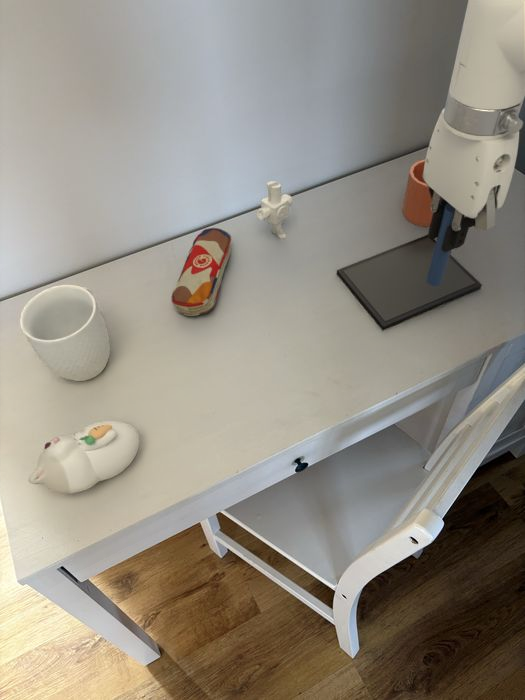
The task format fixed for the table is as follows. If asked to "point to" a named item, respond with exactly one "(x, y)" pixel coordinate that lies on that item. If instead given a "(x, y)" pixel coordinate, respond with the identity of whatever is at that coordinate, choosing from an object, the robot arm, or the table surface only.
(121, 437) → the cat figurine
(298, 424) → the table surface
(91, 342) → the mug
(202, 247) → the pencil case
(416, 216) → the pen cup
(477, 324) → the table surface
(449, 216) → the stylus
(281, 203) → the toy robot
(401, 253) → the tablet
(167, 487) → the table surface
